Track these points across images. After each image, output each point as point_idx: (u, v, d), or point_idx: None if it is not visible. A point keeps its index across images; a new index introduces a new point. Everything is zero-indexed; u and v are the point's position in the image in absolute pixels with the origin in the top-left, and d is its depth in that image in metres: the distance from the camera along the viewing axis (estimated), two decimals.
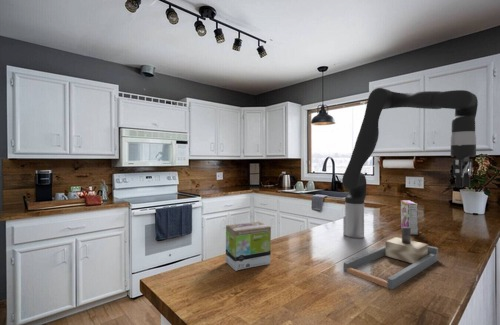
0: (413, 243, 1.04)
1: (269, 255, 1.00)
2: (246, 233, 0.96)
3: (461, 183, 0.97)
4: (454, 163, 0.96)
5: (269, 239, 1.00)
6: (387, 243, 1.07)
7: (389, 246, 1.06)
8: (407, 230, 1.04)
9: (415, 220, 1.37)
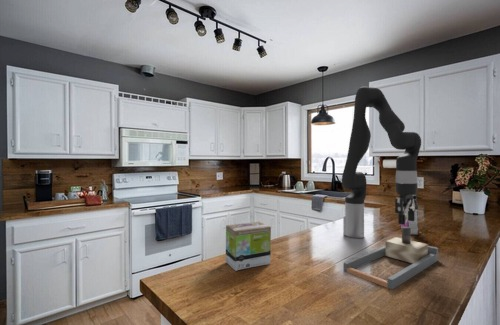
0: (413, 243, 1.04)
1: (269, 255, 1.00)
2: (246, 233, 0.96)
3: (403, 220, 1.02)
4: (396, 201, 1.01)
5: (269, 239, 1.00)
6: (387, 243, 1.07)
7: (389, 246, 1.06)
8: (407, 230, 1.04)
9: (415, 220, 1.37)
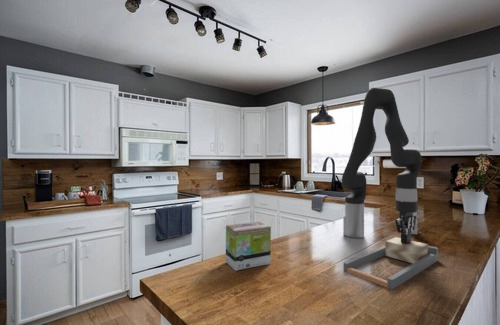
0: (413, 243, 1.04)
1: (269, 255, 1.00)
2: (246, 233, 0.96)
3: (405, 239, 1.03)
4: (397, 223, 1.02)
5: (269, 239, 1.00)
6: (387, 243, 1.07)
7: (389, 246, 1.06)
8: None
9: None
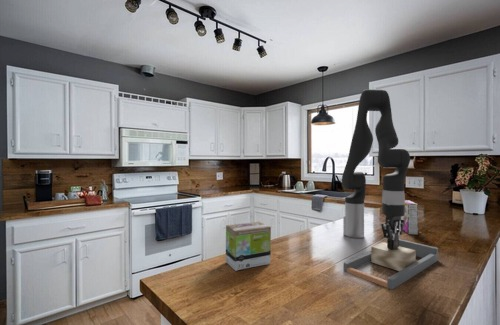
0: (400, 249, 0.98)
1: (269, 255, 1.00)
2: (246, 233, 0.96)
3: (392, 245, 0.97)
4: (383, 228, 0.95)
5: (269, 239, 1.00)
6: (373, 249, 1.00)
7: (375, 252, 0.99)
8: None
9: (415, 220, 1.37)
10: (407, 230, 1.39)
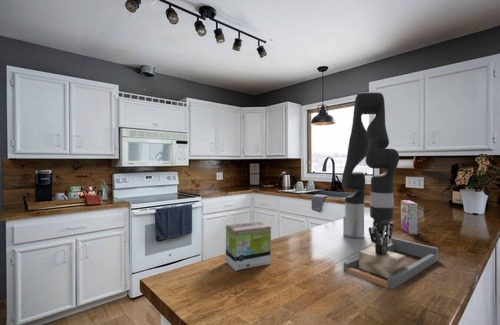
0: (389, 254, 0.93)
1: (269, 255, 1.00)
2: (246, 233, 0.96)
3: (380, 250, 0.92)
4: (370, 232, 0.90)
5: (269, 239, 1.00)
6: (360, 254, 0.95)
7: (363, 257, 0.94)
8: None
9: (415, 220, 1.37)
10: (407, 230, 1.39)
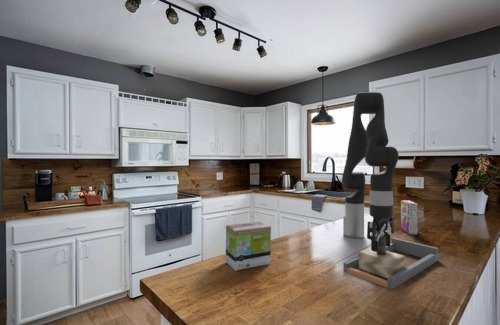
0: (388, 254, 0.92)
1: (269, 255, 1.00)
2: (246, 233, 0.96)
3: (376, 247, 0.90)
4: (368, 226, 0.90)
5: (269, 239, 1.00)
6: (360, 254, 0.95)
7: (362, 257, 0.94)
8: (382, 240, 0.92)
9: (415, 220, 1.37)
10: (407, 230, 1.39)
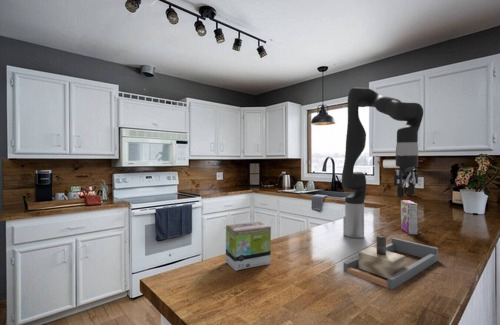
0: (388, 254, 0.92)
1: (269, 255, 1.00)
2: (246, 233, 0.96)
3: (402, 193, 0.99)
4: (395, 173, 0.99)
5: (269, 239, 1.00)
6: (360, 254, 0.95)
7: (362, 257, 0.94)
8: (382, 240, 0.92)
9: (415, 220, 1.37)
10: (407, 230, 1.39)
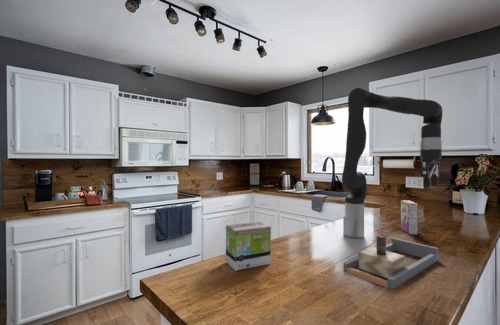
0: (388, 254, 0.92)
1: (269, 255, 1.00)
2: (246, 233, 0.96)
3: (428, 183, 1.09)
4: (422, 165, 1.08)
5: (269, 239, 1.00)
6: (360, 254, 0.95)
7: (362, 257, 0.94)
8: (382, 240, 0.92)
9: (415, 220, 1.37)
10: (407, 230, 1.39)
